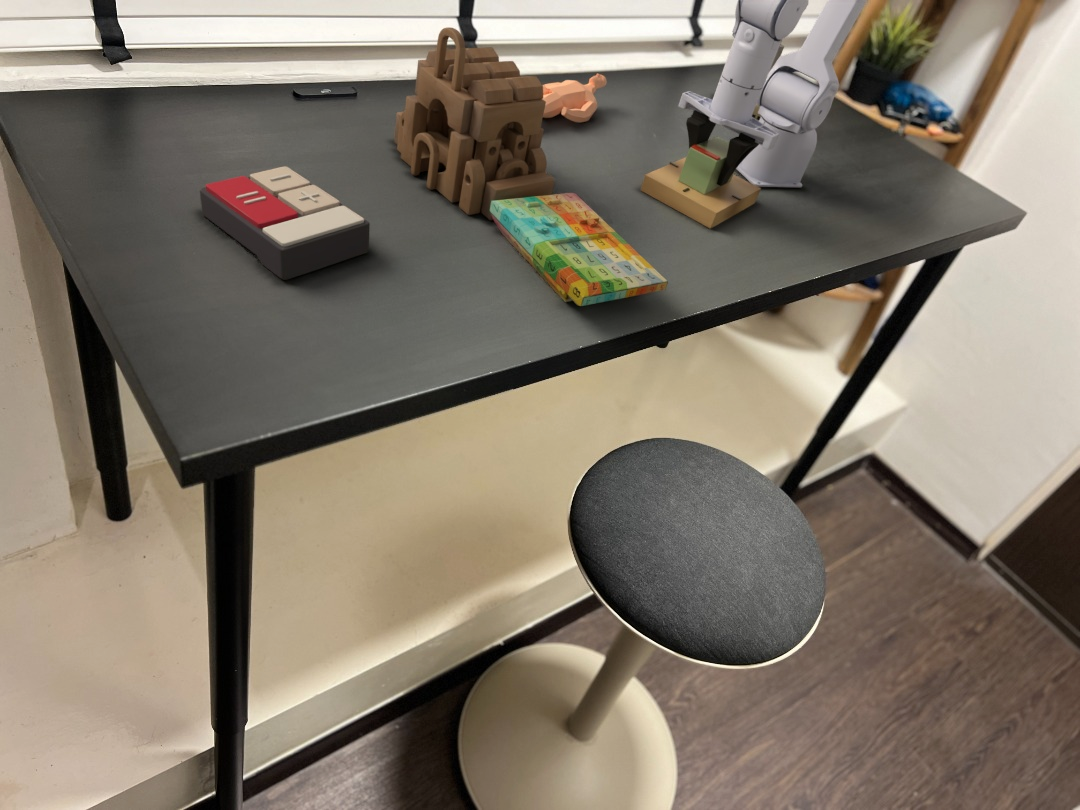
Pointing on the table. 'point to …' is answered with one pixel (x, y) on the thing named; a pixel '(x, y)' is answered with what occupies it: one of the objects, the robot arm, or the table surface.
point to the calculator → (285, 221)
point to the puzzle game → (574, 249)
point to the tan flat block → (699, 195)
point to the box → (705, 165)
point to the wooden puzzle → (474, 127)
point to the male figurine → (572, 98)
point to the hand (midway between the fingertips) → (706, 175)
